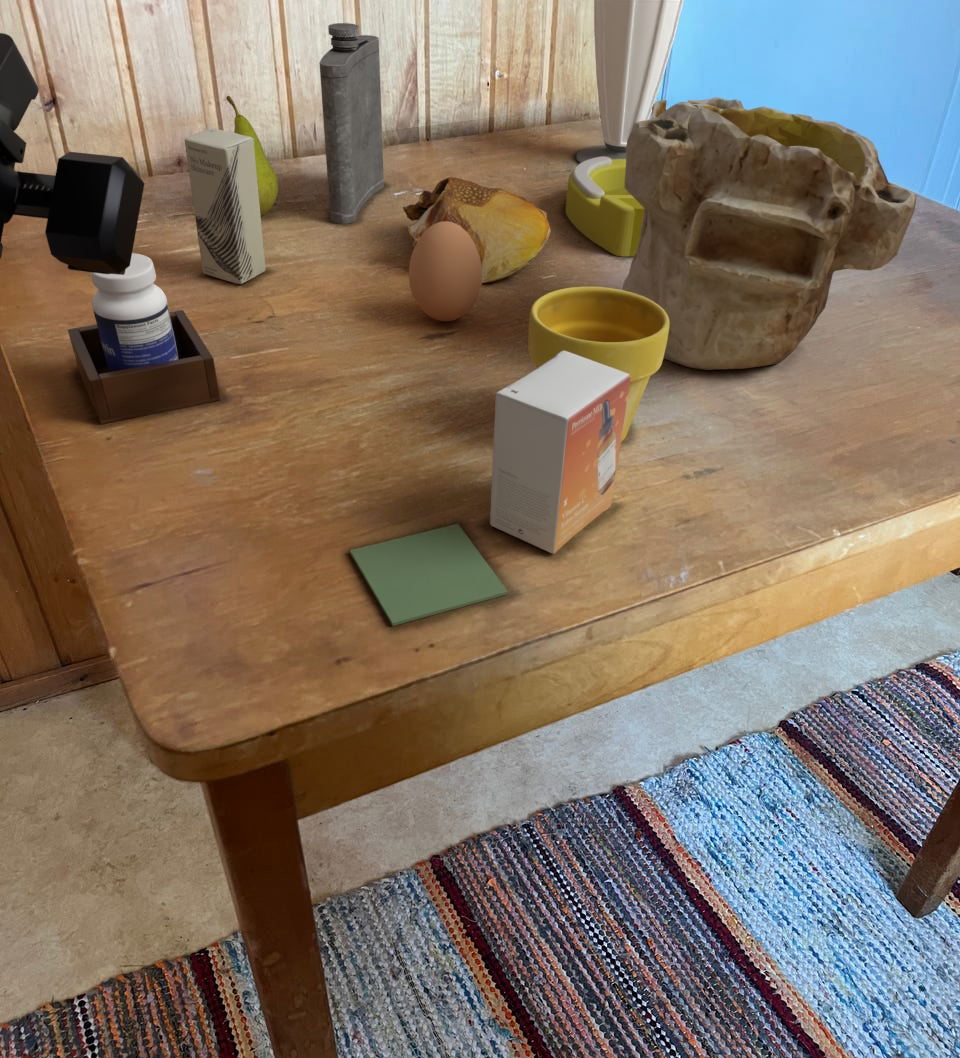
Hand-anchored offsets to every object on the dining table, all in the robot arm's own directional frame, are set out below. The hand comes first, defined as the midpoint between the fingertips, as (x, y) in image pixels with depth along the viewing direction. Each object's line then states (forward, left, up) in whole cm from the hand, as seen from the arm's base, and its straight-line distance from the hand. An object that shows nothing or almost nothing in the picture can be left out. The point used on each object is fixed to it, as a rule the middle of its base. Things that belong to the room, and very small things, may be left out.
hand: (61, 259), depth 67 cm
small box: (+34, -11, -14) cm, 38 cm away
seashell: (+30, +37, -14) cm, 50 cm away
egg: (+27, +21, -14) cm, 37 cm away
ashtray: (+50, +47, -14) cm, 70 cm away
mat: (+25, -17, -14) cm, 33 cm away
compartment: (+2, +8, -14) cm, 16 cm away
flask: (+17, +52, -14) cm, 57 cm away
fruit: (+6, +47, -14) cm, 50 cm away
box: (+6, +31, -14) cm, 35 cm away
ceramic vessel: (+54, +16, -14) cm, 58 cm away
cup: (+51, +69, -14) cm, 87 cm away
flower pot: (+38, +1, -14) cm, 40 cm away
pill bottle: (+2, +8, -14) cm, 16 cm away
